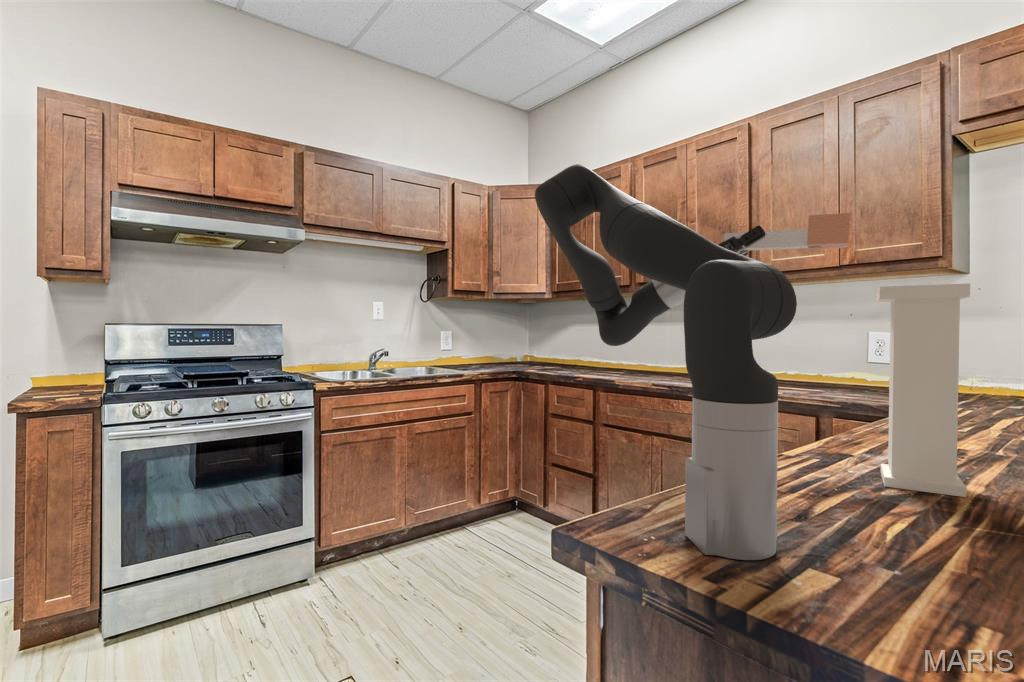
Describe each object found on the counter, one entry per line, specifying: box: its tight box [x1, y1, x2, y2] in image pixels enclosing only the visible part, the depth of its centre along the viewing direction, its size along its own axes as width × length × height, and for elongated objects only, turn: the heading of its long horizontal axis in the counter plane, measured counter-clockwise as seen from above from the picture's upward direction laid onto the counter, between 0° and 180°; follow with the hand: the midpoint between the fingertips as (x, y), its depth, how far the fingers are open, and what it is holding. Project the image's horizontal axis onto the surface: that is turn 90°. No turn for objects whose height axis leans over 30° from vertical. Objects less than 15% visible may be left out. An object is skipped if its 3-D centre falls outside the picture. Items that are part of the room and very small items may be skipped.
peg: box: [723, 212, 851, 251], centre depth 95 cm, size 20×6×5 cm, turn 58°
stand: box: [875, 283, 971, 498], centre depth 85 cm, size 11×10×32 cm
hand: (763, 231), depth 97 cm, fingers closed on peg, 3 cm apart
